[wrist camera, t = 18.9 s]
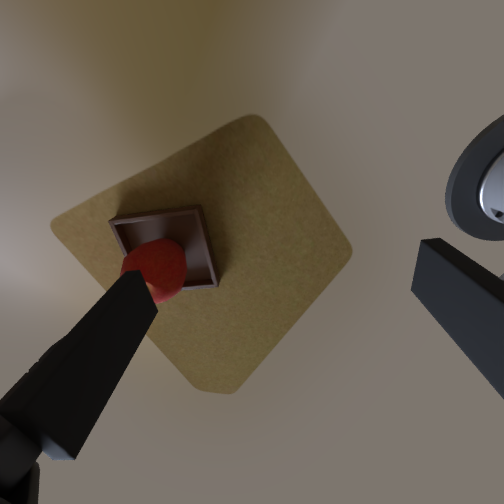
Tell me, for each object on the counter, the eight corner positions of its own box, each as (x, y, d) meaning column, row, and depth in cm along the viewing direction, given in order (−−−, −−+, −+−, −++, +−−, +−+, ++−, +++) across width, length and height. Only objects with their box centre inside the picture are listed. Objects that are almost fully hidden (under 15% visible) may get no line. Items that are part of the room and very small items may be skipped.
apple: (134, 248, 48) (89, 292, 35) (165, 216, 44) (126, 254, 32) (174, 281, 51) (146, 331, 39) (206, 254, 47) (186, 300, 35)
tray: (200, 204, 43) (197, 209, 41) (220, 280, 51) (218, 287, 49) (115, 216, 45) (107, 221, 43) (147, 287, 53) (141, 294, 51)
